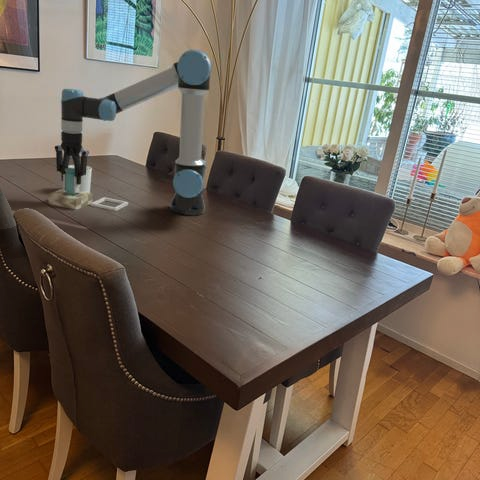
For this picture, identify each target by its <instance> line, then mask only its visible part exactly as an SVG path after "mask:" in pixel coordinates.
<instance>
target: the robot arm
mask: <svg viewBox="0 0 480 480" xmlns="http://www.w3.org/2000/svg"><path fill="white" fill-rule="evenodd" d="M211 73H212V64H211V61H210V58H209V57H208V55H206V53H205V52H204V51H201V50H198V49H188V50H186V51H185V52H184V53H182V54H181V56H180V57H179V59H178V61H177V62H174V63H172V66H171V67H170V68H168V69H165V70H162V71H161V72H158V73H156V74H154V75H151V76H149V77H147V78H145V79H142V80H141V81H138V82H136V83H133V84H131V85H129V86H127V87H124V88H123V89H120V90H118V91H116V92H114V93H111V94H108V95H106V96H104V97H100V98H95V97H88V96H84V92H83V90H80V89H73V88H63V89H62V90H61V100H60V104H61V107H60V109H61V111H60V113H61V117H60V118H61V122H60V123H61V124H60V128H61V130H62V131H61V132H60V133H61V134H60V135H61V137H60V139H61V144H59V145H55V146H54V152H55V159H56V161H55V162H56V171H57V172H59V173H61V177H60V178H61V182H62V189H63V190H64V191H65V190H66V172H65V168H68V166H70V165H69V164H70V159H72V161H73V165H74V167H75V174H76V175H75V176H74V193H77V192H79V184H81V176H84V175H86V168H87V166H88V155H89V154H90V151H89V150H85V149H84V148H83V146H82V145H83V144H82V143H83V133H82V132H83V121H84V120H83V118H87V119H93V120H99V121H100V120H101V121H104V122H107V121H109V122H113V121H114V120H115V118H116V117H117V116H116V115H117V114H119V113H121V112H123V111H124V112H125V111H127V110H128V109H130V108H133V107H135V106H137V105H141V104H142V103H144V102H147V101H149V100H152V99H153V98H156V97H158V96H161V95H163V94H165V93H167V92H170V91H172V90H175V89H178V90H179V91H180V92H181V108H180V130H179V132H180V133H179V153H178V155H179V156H178V157H177V159H175V162H174V176H173V179H172V184H173V188H174V190H175V193H174V195H173V198H172V200H171V202H170V205H169V207H170V210H171V211H172V212H174V213H176V214H179V213H180V214H179V215H183V214H184V215H185V216H200V215H204V214H205V211H206V206H205V201H204V196H203V194H204V186H205V177H206V169H207V162H206V160H204V159H202V153H203V150H202V149H203V134H204V117H205V101H206V99H205V98H206V94H208V93H209V92H210V86H211V85H210V84H211V83H210V82H211ZM80 155H81V156H80Z"/></svg>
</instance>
